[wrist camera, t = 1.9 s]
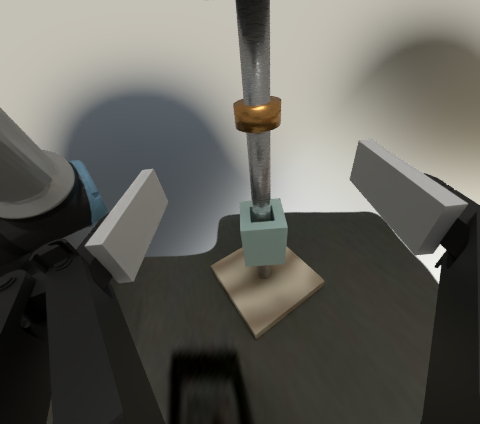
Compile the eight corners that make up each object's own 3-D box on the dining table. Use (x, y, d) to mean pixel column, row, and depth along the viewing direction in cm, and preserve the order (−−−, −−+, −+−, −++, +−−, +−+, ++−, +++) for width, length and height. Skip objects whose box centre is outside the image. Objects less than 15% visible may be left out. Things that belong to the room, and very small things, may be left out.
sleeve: (245, 266, 31) (240, 231, 26) (244, 237, 36) (239, 202, 30) (284, 263, 31) (287, 227, 26) (278, 234, 35) (279, 198, 30)
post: (245, 270, 39) (190, -95, 12) (266, 257, 41) (257, -87, 14) (261, 290, 35) (233, -149, 9) (283, 275, 37) (313, -131, 11)
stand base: (212, 271, 42) (210, 265, 40) (270, 237, 47) (270, 231, 46) (256, 339, 32) (255, 335, 30) (322, 286, 37) (324, 280, 36)
